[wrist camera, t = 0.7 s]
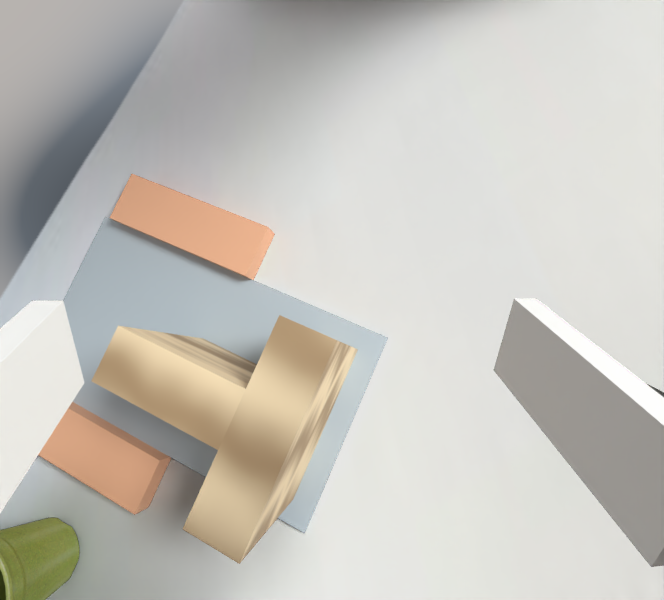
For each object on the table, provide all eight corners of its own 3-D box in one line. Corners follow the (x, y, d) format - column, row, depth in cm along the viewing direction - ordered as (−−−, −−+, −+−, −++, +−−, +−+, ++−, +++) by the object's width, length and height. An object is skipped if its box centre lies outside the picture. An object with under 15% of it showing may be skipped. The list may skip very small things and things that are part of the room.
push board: (128, 176, 44) (116, 167, 42) (409, 287, 37) (409, 282, 35) (6, 420, 42) (-13, 423, 40) (281, 588, 35) (274, 601, 33)
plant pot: (22, 622, 38) (-86, 695, 30) (-1, 520, 40) (-109, 561, 32) (108, 585, 37) (22, 648, 29) (80, 482, 39) (-8, 514, 31)
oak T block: (225, 290, 40) (150, 258, 28) (357, 349, 36) (336, 340, 25) (161, 426, 38) (56, 452, 27) (293, 499, 35) (239, 563, 24)
